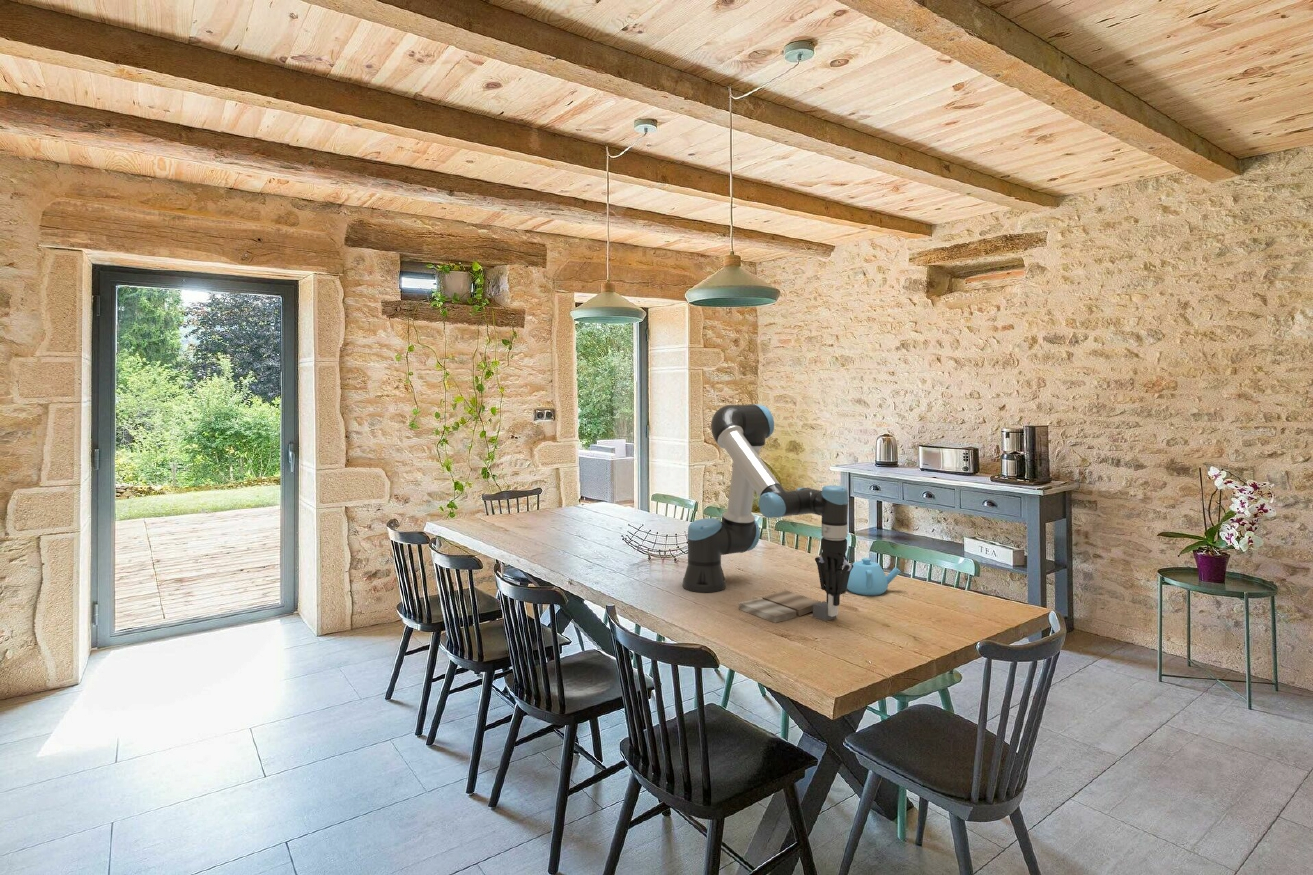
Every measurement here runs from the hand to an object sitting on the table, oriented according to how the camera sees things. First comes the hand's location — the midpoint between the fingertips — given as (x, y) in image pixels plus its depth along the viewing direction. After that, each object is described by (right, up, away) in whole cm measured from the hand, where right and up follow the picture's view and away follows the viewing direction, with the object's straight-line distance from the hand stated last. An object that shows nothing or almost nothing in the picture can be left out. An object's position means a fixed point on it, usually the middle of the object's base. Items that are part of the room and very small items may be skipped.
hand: (832, 615), depth 210 cm
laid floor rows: (-19, -1, +7) cm, 20 cm away
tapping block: (-2, -2, +3) cm, 4 cm away
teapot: (+20, 0, +31) cm, 37 cm away
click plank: (-10, 0, +13) cm, 16 cm away
